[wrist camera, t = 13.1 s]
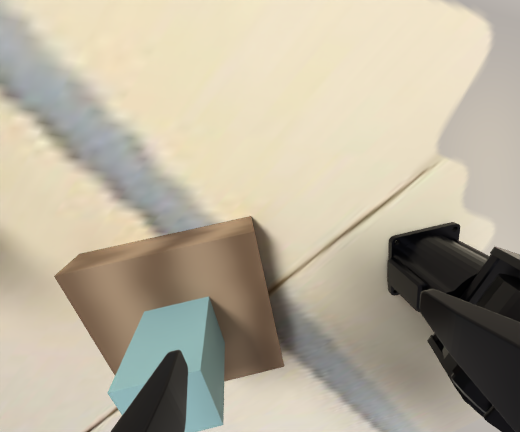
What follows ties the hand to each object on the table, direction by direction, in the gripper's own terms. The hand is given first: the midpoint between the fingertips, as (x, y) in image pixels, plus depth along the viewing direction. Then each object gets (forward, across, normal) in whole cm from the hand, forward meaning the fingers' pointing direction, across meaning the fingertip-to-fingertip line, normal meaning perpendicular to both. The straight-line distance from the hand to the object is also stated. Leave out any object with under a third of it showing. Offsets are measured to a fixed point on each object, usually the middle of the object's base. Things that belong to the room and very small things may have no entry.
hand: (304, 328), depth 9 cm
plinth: (+12, +8, +7) cm, 16 cm away
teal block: (+9, +8, +7) cm, 14 cm away
